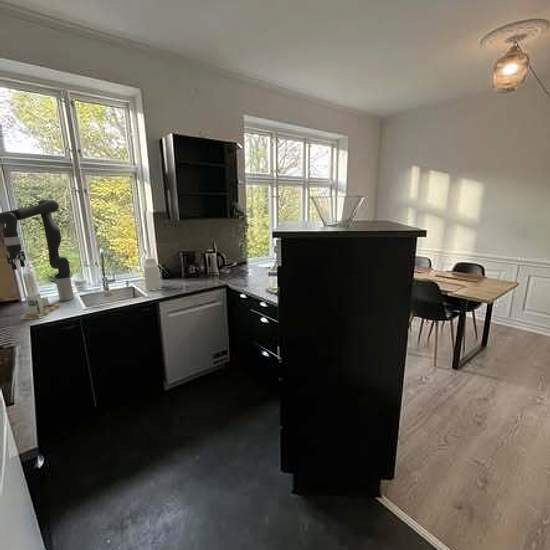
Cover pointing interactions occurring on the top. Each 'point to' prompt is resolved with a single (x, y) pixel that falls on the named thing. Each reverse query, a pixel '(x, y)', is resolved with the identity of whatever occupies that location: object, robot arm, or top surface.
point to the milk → (152, 274)
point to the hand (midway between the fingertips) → (19, 268)
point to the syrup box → (34, 303)
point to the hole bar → (46, 311)
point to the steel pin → (45, 302)
